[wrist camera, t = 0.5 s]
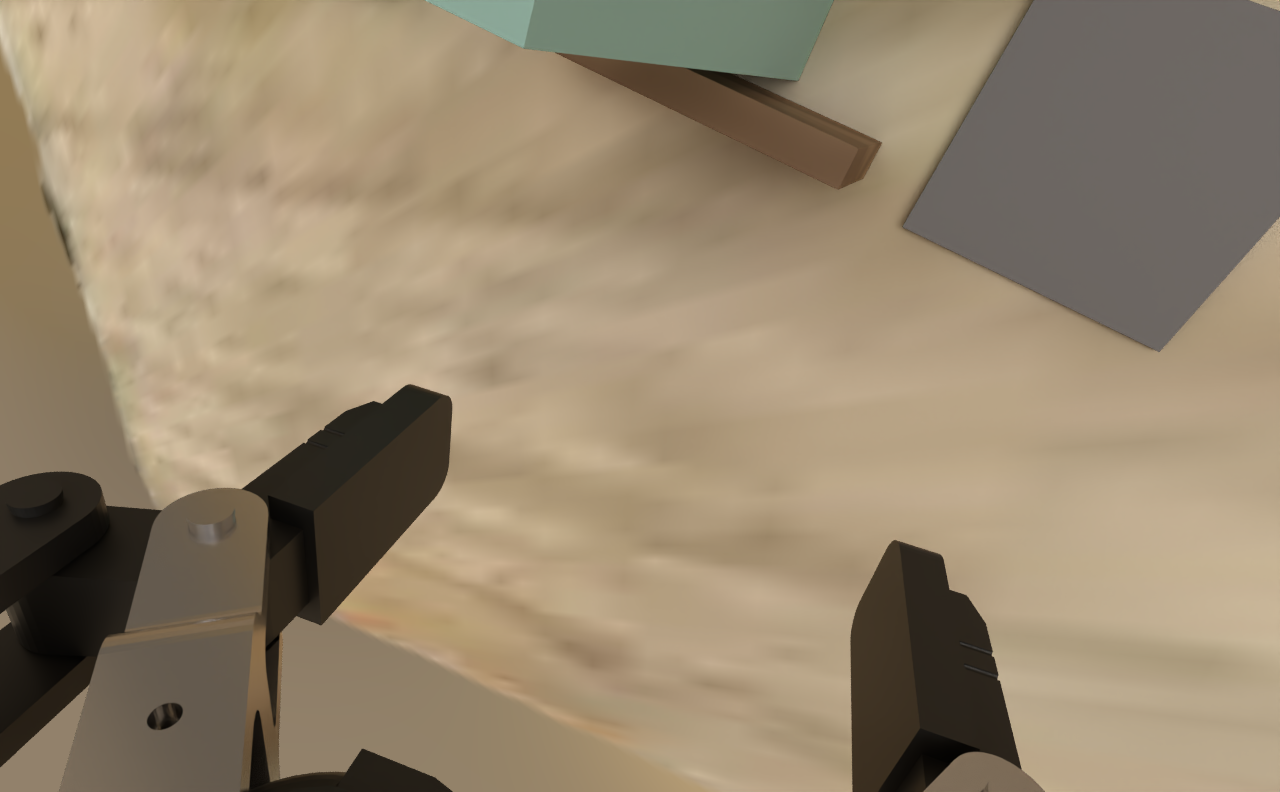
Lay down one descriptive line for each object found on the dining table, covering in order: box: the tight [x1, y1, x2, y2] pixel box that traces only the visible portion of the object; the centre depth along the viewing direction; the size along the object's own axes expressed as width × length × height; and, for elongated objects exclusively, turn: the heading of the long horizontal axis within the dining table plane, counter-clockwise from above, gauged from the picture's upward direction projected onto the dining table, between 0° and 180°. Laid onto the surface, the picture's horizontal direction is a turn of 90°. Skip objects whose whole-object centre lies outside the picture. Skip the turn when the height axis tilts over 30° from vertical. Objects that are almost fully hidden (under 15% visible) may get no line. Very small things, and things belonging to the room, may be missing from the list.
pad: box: [903, 0, 1280, 352], centre depth 25 cm, size 11×11×1 cm
